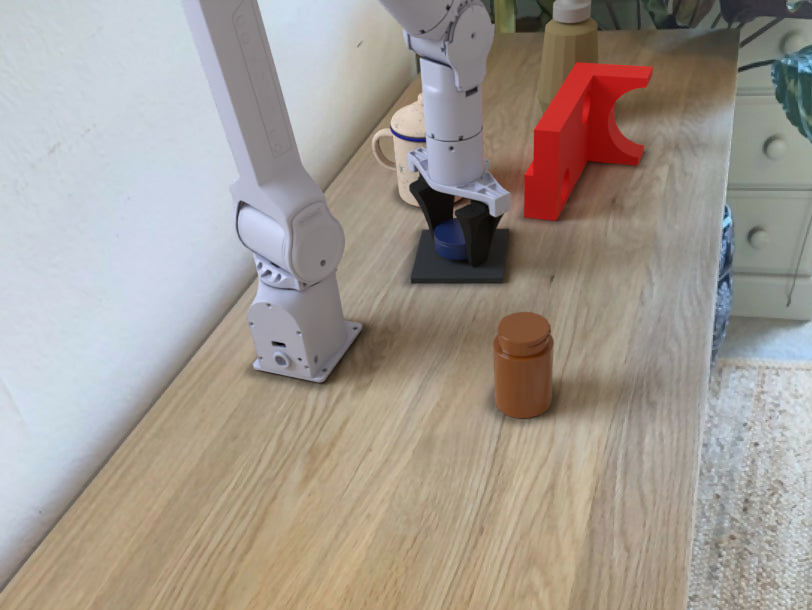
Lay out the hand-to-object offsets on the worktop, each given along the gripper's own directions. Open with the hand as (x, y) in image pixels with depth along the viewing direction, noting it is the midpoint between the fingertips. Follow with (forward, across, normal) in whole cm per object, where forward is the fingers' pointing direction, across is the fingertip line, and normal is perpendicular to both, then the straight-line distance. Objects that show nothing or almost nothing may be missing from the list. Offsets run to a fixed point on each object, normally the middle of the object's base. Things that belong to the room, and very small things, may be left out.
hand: (460, 251), depth 95 cm
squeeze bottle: (+1, +16, -31) cm, 35 cm away
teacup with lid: (+1, +15, -6) cm, 16 cm away
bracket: (+1, +2, -21) cm, 21 cm away
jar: (+1, -23, +11) cm, 25 cm away
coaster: (+1, 0, 0) cm, 1 cm away
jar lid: (-2, 0, 0) cm, 2 cm away
